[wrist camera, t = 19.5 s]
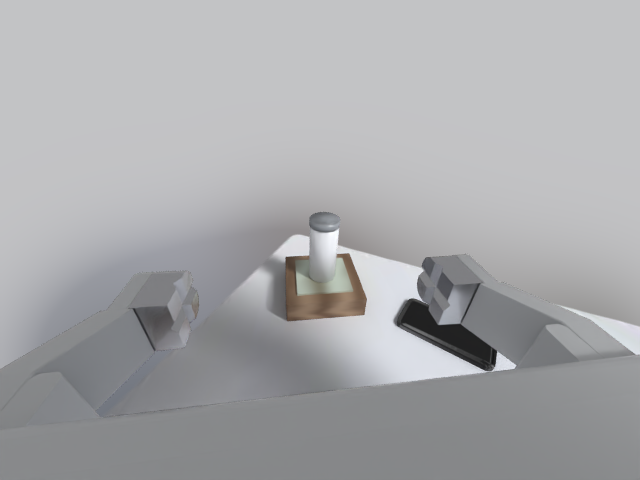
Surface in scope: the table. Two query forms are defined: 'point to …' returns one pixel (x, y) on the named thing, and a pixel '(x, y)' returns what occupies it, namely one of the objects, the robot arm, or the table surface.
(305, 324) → the table surface
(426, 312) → the phone
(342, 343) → the table surface
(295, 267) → the walnut base
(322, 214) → the canister
